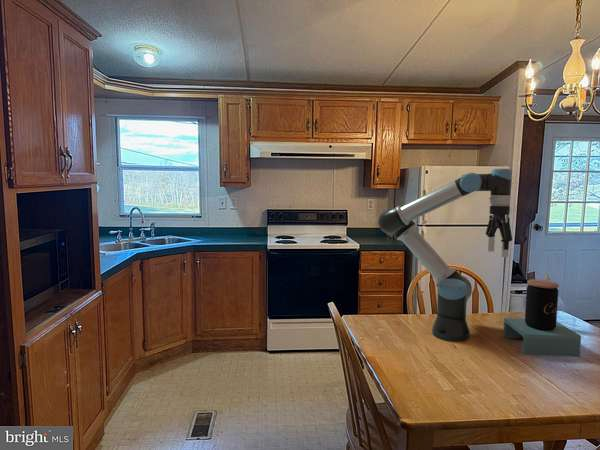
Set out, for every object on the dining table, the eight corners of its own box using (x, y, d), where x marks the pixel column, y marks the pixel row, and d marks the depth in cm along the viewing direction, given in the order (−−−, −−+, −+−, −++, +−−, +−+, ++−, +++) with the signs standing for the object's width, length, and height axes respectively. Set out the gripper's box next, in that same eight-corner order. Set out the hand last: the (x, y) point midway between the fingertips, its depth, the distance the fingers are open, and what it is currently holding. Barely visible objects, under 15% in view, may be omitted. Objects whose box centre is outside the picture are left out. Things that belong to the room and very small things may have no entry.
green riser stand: (524, 354, 145) (525, 334, 144) (503, 336, 163) (504, 318, 162) (579, 356, 143) (581, 335, 143) (551, 337, 161) (553, 319, 160)
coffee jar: (545, 333, 145) (548, 287, 143) (518, 324, 155) (521, 281, 153) (561, 328, 150) (564, 283, 148) (534, 320, 160) (537, 278, 158)
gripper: (479, 203, 175) (477, 249, 177) (503, 206, 150) (501, 259, 152) (496, 203, 174) (493, 249, 176) (523, 206, 150) (520, 259, 152)
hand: (497, 254), depth 164 cm, fingers open, 13 cm apart
